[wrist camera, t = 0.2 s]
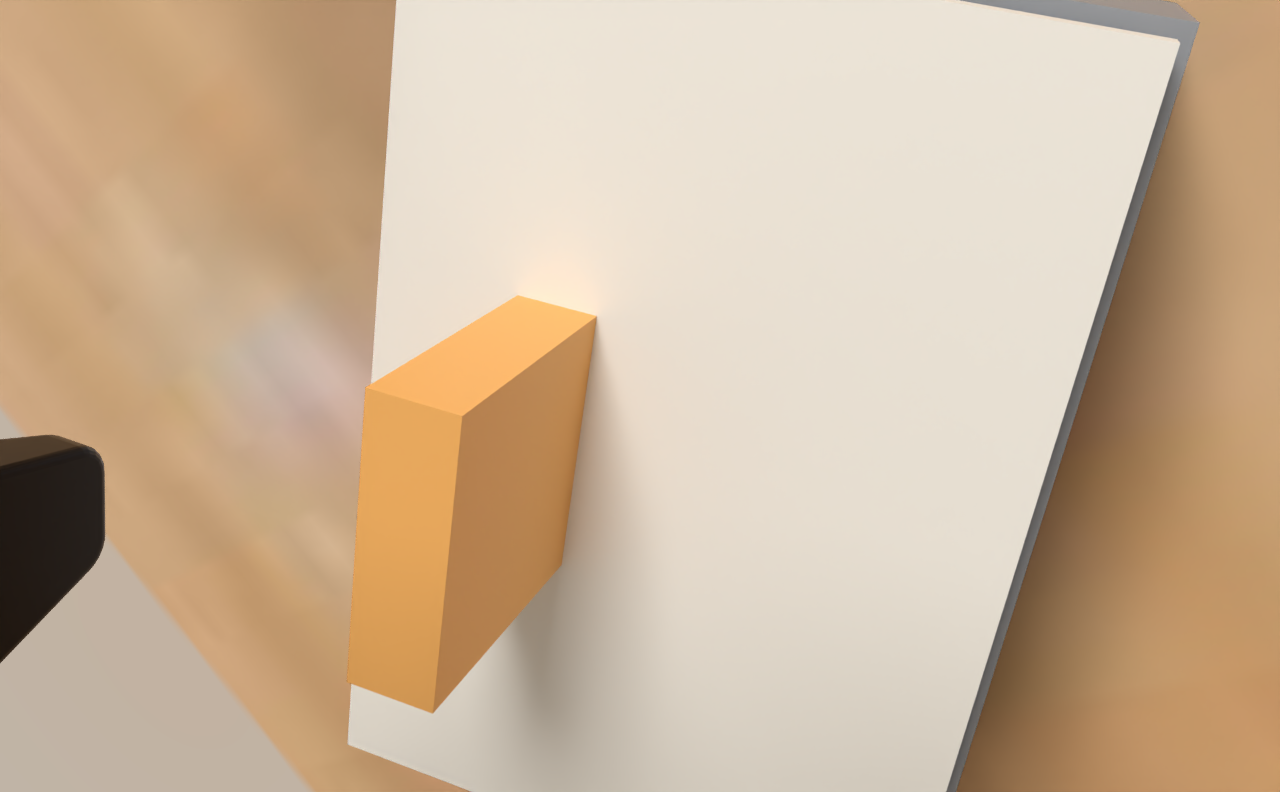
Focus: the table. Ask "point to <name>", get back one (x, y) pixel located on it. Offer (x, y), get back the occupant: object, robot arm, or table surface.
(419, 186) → the flap
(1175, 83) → the carton
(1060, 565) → the table surface
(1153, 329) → the table surface
